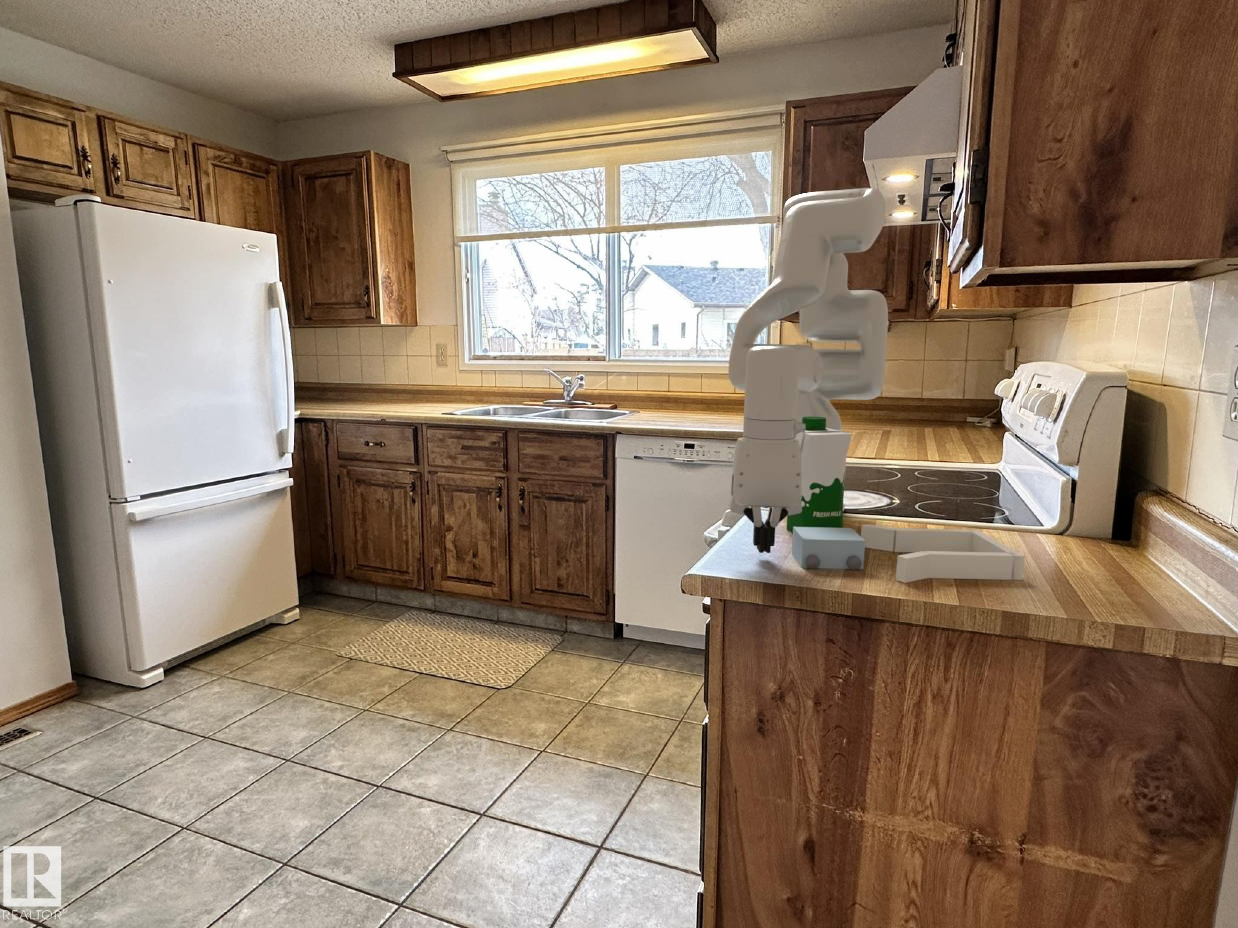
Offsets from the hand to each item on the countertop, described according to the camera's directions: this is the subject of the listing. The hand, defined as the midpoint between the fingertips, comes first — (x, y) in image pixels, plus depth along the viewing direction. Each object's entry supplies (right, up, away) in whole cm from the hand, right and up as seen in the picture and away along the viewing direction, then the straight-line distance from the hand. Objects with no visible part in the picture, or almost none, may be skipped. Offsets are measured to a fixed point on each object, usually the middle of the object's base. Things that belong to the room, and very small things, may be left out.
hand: (763, 550), depth 105 cm
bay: (+26, -2, -1) cm, 26 cm away
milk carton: (+12, +1, +16) cm, 20 cm away
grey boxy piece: (+10, -2, 0) cm, 10 cm away
